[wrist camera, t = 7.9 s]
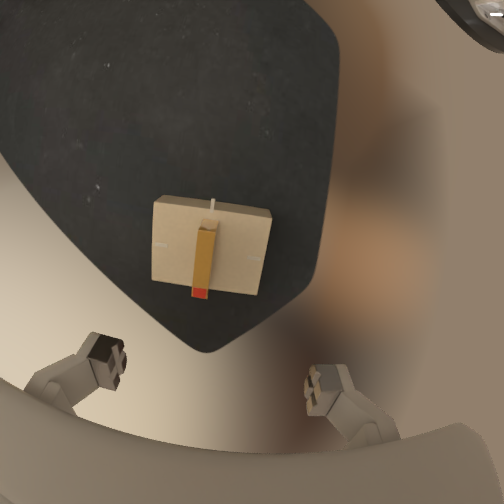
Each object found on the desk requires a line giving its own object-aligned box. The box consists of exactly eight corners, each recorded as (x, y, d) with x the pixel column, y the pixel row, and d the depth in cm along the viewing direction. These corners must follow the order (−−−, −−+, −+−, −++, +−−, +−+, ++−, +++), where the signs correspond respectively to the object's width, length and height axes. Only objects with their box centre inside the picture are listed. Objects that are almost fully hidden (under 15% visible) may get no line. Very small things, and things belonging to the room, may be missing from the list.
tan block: (271, 199, 30) (274, 208, 27) (254, 287, 34) (255, 304, 31) (164, 185, 29) (154, 191, 25) (159, 273, 33) (151, 288, 30)
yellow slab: (203, 218, 27) (197, 230, 23) (219, 220, 27) (215, 233, 24) (196, 279, 30) (190, 298, 26) (210, 281, 30) (206, 300, 26)
